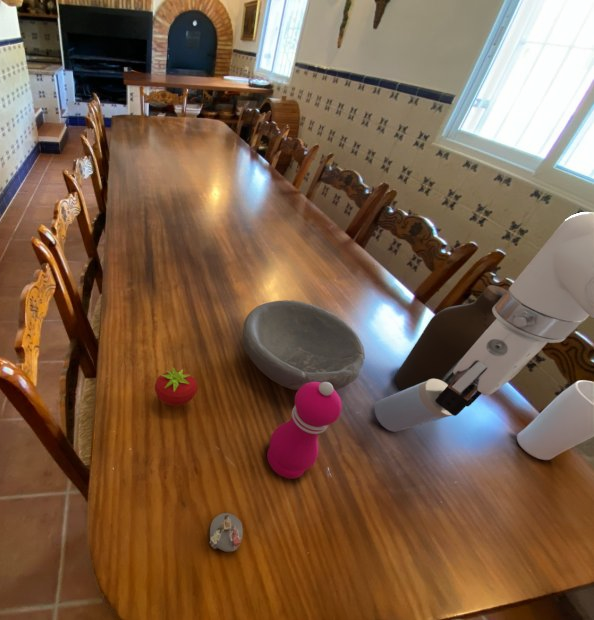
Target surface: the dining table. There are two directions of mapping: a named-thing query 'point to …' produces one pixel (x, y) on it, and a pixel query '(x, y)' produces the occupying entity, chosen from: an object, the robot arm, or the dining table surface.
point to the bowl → (302, 345)
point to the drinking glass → (561, 423)
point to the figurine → (226, 532)
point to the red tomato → (175, 387)
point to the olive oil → (448, 340)
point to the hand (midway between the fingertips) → (452, 403)
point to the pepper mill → (303, 429)
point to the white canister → (412, 406)
